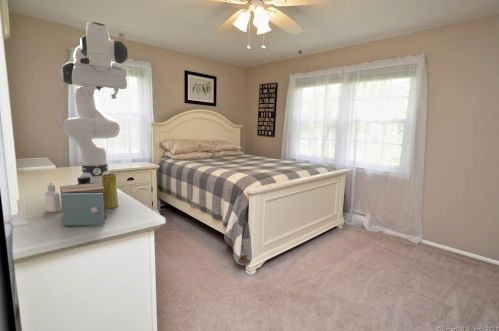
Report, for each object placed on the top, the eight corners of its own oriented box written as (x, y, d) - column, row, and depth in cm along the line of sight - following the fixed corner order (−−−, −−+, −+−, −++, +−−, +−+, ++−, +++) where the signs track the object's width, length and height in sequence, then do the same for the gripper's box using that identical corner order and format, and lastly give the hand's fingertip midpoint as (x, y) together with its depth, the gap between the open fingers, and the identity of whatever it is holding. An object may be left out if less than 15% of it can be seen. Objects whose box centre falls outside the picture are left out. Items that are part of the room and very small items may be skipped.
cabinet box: (62, 216, 102) (60, 186, 100) (100, 210, 110) (98, 182, 108) (64, 225, 93) (62, 192, 91) (106, 218, 101) (104, 188, 99)
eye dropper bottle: (47, 213, 104) (45, 184, 103) (45, 210, 108) (43, 181, 107) (61, 211, 108) (58, 182, 106) (58, 208, 111) (56, 180, 110)
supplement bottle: (97, 203, 120) (95, 177, 118) (80, 206, 115) (78, 179, 113) (90, 200, 124) (88, 175, 122) (74, 203, 119) (72, 177, 117)
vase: (111, 209, 112) (109, 176, 110) (99, 208, 113) (97, 175, 111) (121, 205, 118) (119, 173, 116) (109, 204, 119) (107, 173, 117)
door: (64, 224, 92) (62, 193, 90) (104, 223, 94) (102, 193, 92) (61, 226, 90) (59, 195, 88) (102, 225, 92) (100, 194, 90)
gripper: (124, 69, 119) (125, 100, 121) (69, 60, 106) (72, 96, 108) (128, 66, 114) (129, 99, 116) (72, 57, 101) (74, 94, 103)
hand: (101, 97), depth 112 cm, fingers open, 8 cm apart
